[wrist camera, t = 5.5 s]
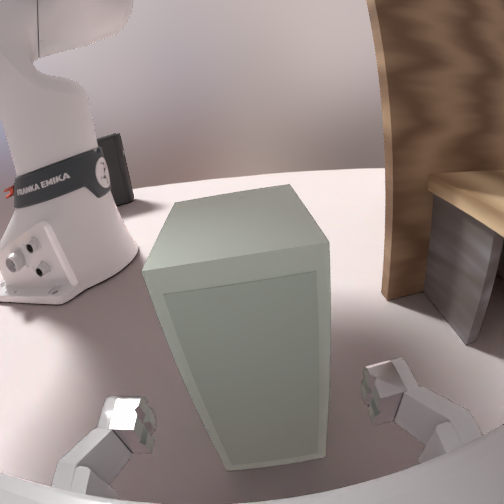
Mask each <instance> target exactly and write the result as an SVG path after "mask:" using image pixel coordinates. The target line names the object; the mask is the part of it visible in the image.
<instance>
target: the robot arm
mask: <svg viewBox="0 0 504 504" xmlns="http://www.w3.org/2000/svg"><path fill="white" fill-rule="evenodd" d="M132 8H133V0H0V118H1V121H2V124H3V127H4V130H5V134H6V137H7V141H8V144H9V148H10V152H11V155H12V159H13V163H14V167H15V171H16V175H17V177H16V178H15V183H14V185H13V186H11V187H9V188H7V189H6V190H4V192H6V191H9V190H10V194H8V195H7V196H6V198H9V197H11V196H13V195H14V207H15V208H16V210H15V212H14V214H13V216H12V218H11V220H10V222H9V225H8V227H7V229H6V231H5V234H4V236H3V238H2V240H1V242H0V271H1V274H2V276H3V280H2V281H1V283H0V301H2V302H18V303H38V304H63V303H65V302H67V301H69V300H71V299H72V298H74V297H75V296H77V295H78V294H79V293H81V292H82V291H83V290H85V289H87V288H89V287H91V286H93V285H95V284H98V283H100V282H102V281H104V280H106V279H108V278H109V277H111V276H113V275H114V274H116V273H117V272H119V271H120V270H122V269H123V268H124V267H125V266H127V265H128V264H129V263H130V262H131V261H132V260H133V258H134V257H135V256H136V254H137V252H138V245H137V244H136V242H135V241H134V239H133V238H132V236H131V235H130V233H129V231H128V229H127V228H126V226H125V224H124V222H123V220H122V218H121V216H120V213H119V211H118V209H117V206H116V204H115V202H114V199H113V196H112V193H111V191H110V190H111V183H110V177H109V172H108V167H107V164H106V161H105V158H104V154H103V151H102V148H101V147H98V143H97V139H96V135H95V129H94V125H93V119H92V114H91V109H90V103H89V98H88V95H87V93H86V91H85V89H84V88H83V87H82V86H81V85H80V84H78V83H77V82H75V81H73V80H70V79H67V78H62V77H56V76H50V75H46V74H43V73H41V72H40V71H38V70H37V69H36V68H35V67H34V65H33V62H34V61H35V60H37V59H38V57H39V58H41V57H45V56H49V55H52V54H55V53H59V52H63V51H67V50H71V49H75V48H79V47H83V46H87V45H90V44H92V43H95V42H97V41H100V40H103V39H105V38H108V37H110V36H113V35H116V34H117V33H119V32H120V31H121V29H122V28H123V27H124V26H125V24H126V23H127V21H128V19H129V17H130V14H131V12H132ZM363 375H364V377H365V378H364V379H363V380H362V382H361V392H362V397H363V400H364V403H365V404H366V405H368V406H369V411H368V413H369V416H370V419H371V421H372V424H373V426H376V425H380V424H383V423H387V422H391V421H394V422H395V423H396V424H398V425H399V426H400V427H402V428H403V429H404V430H406V431H407V432H408V433H409V434H411V435H412V436H413V437H415V438H416V439H417V440H419V441H420V442H421V443H423V444H424V445H425V448H424V450H423V451H422V453H421V455H420V456H419V458H418V460H419V463H420V464H418V465H415V466H413V467H410V468H407V469H404V470H401V471H398V472H395V473H392V474H389V475H386V476H383V477H380V478H376V479H373V480H369V481H366V482H362V483H359V484H355V485H351V486H347V487H343V488H338V489H334V490H329V491H325V492H320V493H315V494H309V495H303V496H297V497H291V498H284V499H277V500H269V501H259V502H248V503H234V504H504V424H503V425H501V426H499V427H498V428H496V429H494V430H492V431H490V432H488V433H487V434H485V435H483V434H482V432H481V430H480V428H479V427H478V425H477V423H476V421H475V420H474V418H473V416H472V414H471V413H470V411H469V410H467V409H465V408H463V407H461V406H459V405H457V404H456V403H454V402H452V401H450V400H448V399H446V398H444V397H443V396H441V395H439V394H437V393H435V392H433V391H431V390H430V389H428V388H426V387H424V386H422V387H420V386H419V384H418V382H417V380H416V379H415V377H414V375H413V373H412V372H411V370H410V368H409V366H408V364H407V363H406V361H405V359H404V358H403V357H399V358H396V359H392V360H387V361H384V362H380V363H376V364H373V365H369V366H365V367H364V369H363ZM147 404H148V401H147V400H146V398H145V397H144V396H108V397H107V398H106V399H105V403H104V406H103V409H102V412H101V416H100V419H99V423H98V426H97V429H96V428H94V429H93V430H92V431H90V432H89V433H88V434H87V435H86V436H85V437H84V438H83V439H82V440H81V441H80V442H79V443H78V444H77V445H75V446H74V447H73V448H72V449H71V450H70V451H69V452H68V453H67V454H66V455H65V456H64V457H62V458H61V459H60V460H59V461H58V464H57V467H56V471H55V474H54V477H53V481H52V485H51V487H50V486H46V485H43V484H39V483H36V482H32V481H29V480H25V479H22V478H19V477H16V476H13V475H10V474H7V473H4V472H2V471H0V504H159V503H146V502H135V501H126V500H118V499H119V494H118V493H117V492H116V491H115V490H114V489H113V488H111V487H110V486H109V485H110V483H111V482H112V481H113V480H114V478H115V477H116V476H117V474H118V473H119V472H120V471H121V469H122V468H123V467H124V465H125V464H126V463H127V462H128V460H129V459H130V458H131V456H132V455H133V454H152V451H153V444H154V439H153V437H152V436H151V435H152V434H153V433H154V432H155V431H156V417H155V414H154V411H153V410H152V408H150V407H148V406H147Z"/></svg>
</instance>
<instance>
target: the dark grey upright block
mask: <svg viewBox="0 0 504 504" xmlns="http://www.w3.org/2000/svg"><path fill="white" fill-rule="evenodd" d="M97 143H98V147H101V148H102V151H103V154H104V158H105V161H106V164H107V167H108V172H109V177H110V183H111V190H110V191H111V193H112V196H113V199H114V202H115V204H116V206H118V205H122V204H125V203H129V202H130V201H133V199H134V195H133V190H132V186H131V181H130V176H129V172H128V167H127V163H126V159H125V153H124V149H123V145H122V140H121V136H120V134H119V133H118V134H116V133H115V134H111V135H108V136H105V137H101V138H98V139H97Z"/></svg>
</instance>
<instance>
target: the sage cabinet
mask: <svg viewBox="0 0 504 504" xmlns="http://www.w3.org/2000/svg"><path fill="white" fill-rule="evenodd" d="M142 274H143V277H144V280H145V283H146V286H147V288H148V291H149V294H150V297H151V300H152V303H153V305H154V308H155V311H156V314H157V316H158V319H159V322H160V324H161V327H162V330H163V332H164V335H165V337H166V340H167V342H168V345H169V347H170V350H171V352H172V355H173V357H174V360H175V362H176V364H177V367H178V369H179V372H180V374H181V376H182V379H183V381H184V383H185V385H186V388H187V390H188V392H189V394H190V397H191V399H192V401H193V403H194V405H195V408H196V410H197V412H198V414H199V416H200V418H201V420H202V422H203V424H204V427H205V429H206V431H207V433H208V435H209V437H210V439H211V441H212V443H213V445H214V447H215V449H216V451H217V453H218V454H219V456H220V458H221V460H222V462H223V464H224V466H225V468H226V470H227V471H233V470H244V469H254V468H263V467H271V466H278V465H285V464H291V463H297V462H303V461H308V460H313V459H318V458H323V457H325V450H326V437H327V422H328V404H329V382H330V345H331V287H330V249H329V241H328V239H327V238H326V236H325V235H324V233H323V232H322V230H321V229H320V227H319V226H318V224H317V223H316V221H315V220H314V218H313V217H312V215H311V214H310V213H309V211H308V210H307V208H306V207H305V205H304V204H303V202H302V201H301V200H300V198H299V197H298V195H297V194H296V192H295V191H294V190H293V188H292V187H291V185H290V184H287V185H280V186H273V187H266V188H260V189H253V190H246V191H240V192H234V193H228V194H222V195H216V196H210V197H204V198H198V199H193V200H187V201H182V202H176V203H174V205H173V207H172V209H171V211H170V213H169V215H168V217H167V219H166V221H165V223H164V225H163V227H162V229H161V231H160V233H159V235H158V237H157V239H156V242H155V244H154V246H153V248H152V250H151V252H150V254H149V256H148V258H147V261H146V263H145V265H144V267H143V269H142Z"/></svg>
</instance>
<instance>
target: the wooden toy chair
mask: <svg viewBox="0 0 504 504" xmlns="http://www.w3.org/2000/svg"><path fill="white" fill-rule="evenodd" d="M366 1H367V6H368V11H369V16H370V22H371V27H372V33H373V39H374V45H375V52H376V59H377V67H378V74H379V84H380V92H381V103H382V116H383V128H384V129H383V130H384V146H385V147H384V148H385V186H386V206H385V244H384V263H383V278H382V291H381V293H382V294H383V295H384V297H385V298H386V300H390V299H395V298H399V297H404V296H408V295H412V294H416V293H420V292H423V293H424V294H425V295H426V296H427V297H428V298H429V300H430V301H431V302H432V303H433V304H434V306H435V307H436V308H437V309H438V310H439V312H440V313H441V314H442V315H443V317H444V318H445V319H446V320H447V322H448V323H449V324H450V325H451V327H452V328H453V329H454V330H455V332H456V333H457V334H458V335H459V337H460V338H461V339H462V341H463V342H464V343H465V344H466V345H467V344H470V343H472V342H475V341H476V340H477V337H478V334H479V331H480V328H481V325H482V322H483V319H484V316H485V313H486V309H487V306H488V303H489V299H490V296H491V292H492V288H493V284H494V280H495V276H496V273H497V274H498V275H499V276H500V277H501V278H502V279H503V280H504V0H366Z"/></svg>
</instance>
